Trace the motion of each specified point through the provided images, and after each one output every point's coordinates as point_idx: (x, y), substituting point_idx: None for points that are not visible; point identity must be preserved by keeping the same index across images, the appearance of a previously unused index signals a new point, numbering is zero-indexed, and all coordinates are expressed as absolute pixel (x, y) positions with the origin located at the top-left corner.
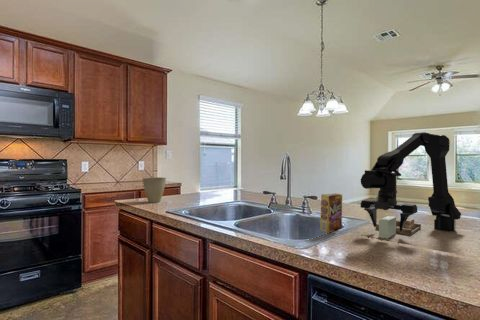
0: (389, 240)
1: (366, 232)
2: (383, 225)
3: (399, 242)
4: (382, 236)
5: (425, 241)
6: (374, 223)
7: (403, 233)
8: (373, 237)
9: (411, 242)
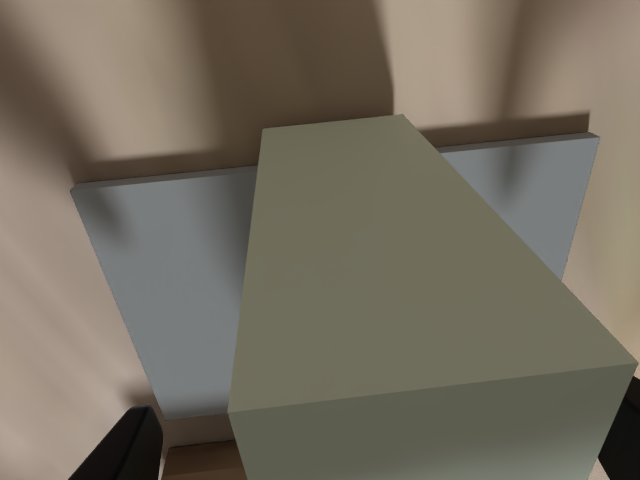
0: (250, 169)
1: (622, 312)
2: (371, 249)
3: (101, 182)
4: (348, 135)
5: (7, 443)
6: (629, 396)
7: (239, 472)
8: (493, 143)
9: (43, 316)
